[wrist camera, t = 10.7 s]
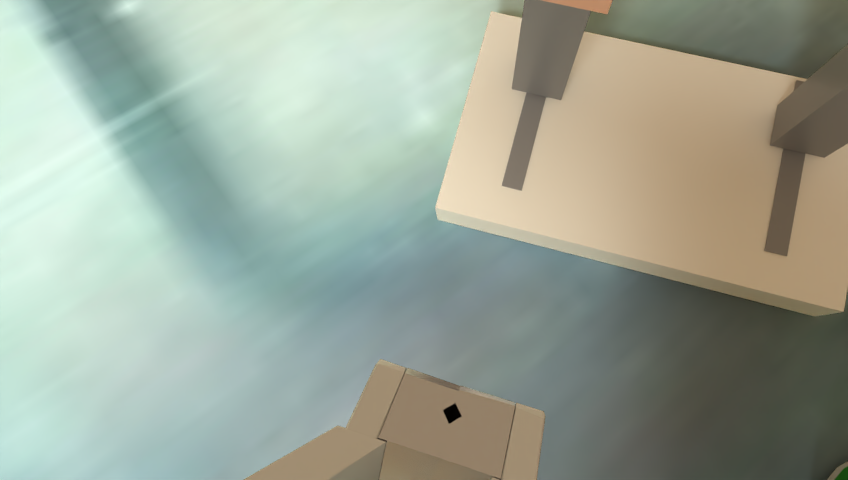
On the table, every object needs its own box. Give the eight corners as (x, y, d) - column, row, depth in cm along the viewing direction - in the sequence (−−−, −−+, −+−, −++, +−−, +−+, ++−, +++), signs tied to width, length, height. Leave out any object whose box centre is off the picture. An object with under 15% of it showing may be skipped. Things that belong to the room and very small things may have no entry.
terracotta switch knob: (571, 107, 38) (617, -13, 26) (499, 90, 38) (511, -35, 27) (583, 61, 38) (633, -76, 27) (511, 45, 39) (529, -96, 27)
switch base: (814, 316, 38) (844, 311, 35) (437, 219, 41) (435, 207, 38) (848, 114, 40) (879, 93, 37) (489, 36, 43) (491, 10, 40)
